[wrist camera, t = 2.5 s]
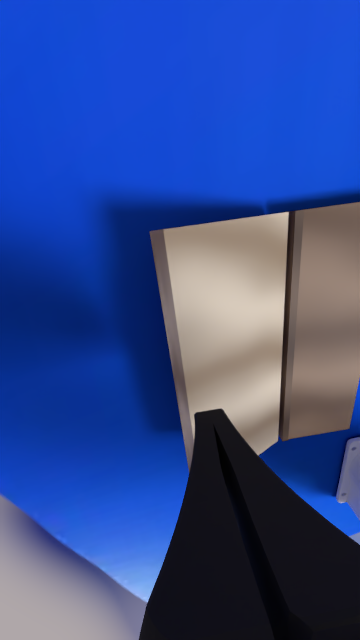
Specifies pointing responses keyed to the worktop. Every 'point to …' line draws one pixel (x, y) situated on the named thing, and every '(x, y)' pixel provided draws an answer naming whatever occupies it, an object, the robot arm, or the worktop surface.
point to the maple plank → (225, 320)
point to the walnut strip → (321, 321)
